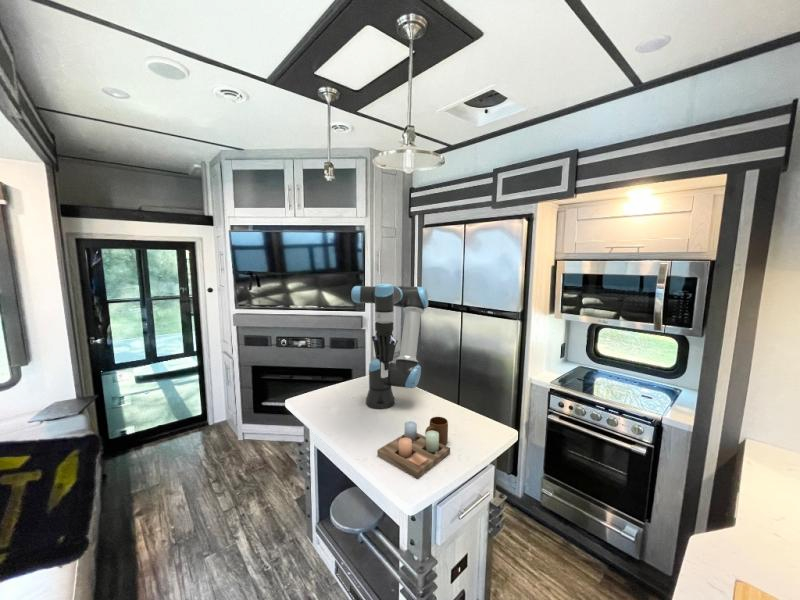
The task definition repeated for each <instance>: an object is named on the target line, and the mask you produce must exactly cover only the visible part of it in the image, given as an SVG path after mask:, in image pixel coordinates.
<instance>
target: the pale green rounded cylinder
mask: <svg viewBox="0 0 800 600" xmlns="http://www.w3.org/2000/svg"><path fill="white" fill-rule="evenodd" d="M425 437H426V450H427V452H429V453H437V451H438V450H439V433H438V432H437V431H432V430H431V431H427V432H426V435H425Z"/></svg>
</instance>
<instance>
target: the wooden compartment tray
mask: <svg viewBox="0 0 800 600" xmlns="http://www.w3.org/2000/svg"><path fill="white" fill-rule="evenodd" d="M401 438H404V433H403V434H402V435H401V436H398V437H397V438H394V440H392V441H389V442H388V443H386V444H385V445H383V446H381V447H379V448H378V449H377V452H376V453H377V457H379V458H380V459H382V460H384V461H386V462H387V463H389V464H390V465H393V466H394V467H396V468H398V469H399V470H401V471H403V472H404V473H406V474H408V475H410V476H412V477H414V478H415V479H417V480H418V479H420V478H421V477H422V476H424V475H425V474H426V473H427V472H428V471H430V470H431V469H433V468H435V466H437V465H438V464H439V463H441V461H442V462H443V460H444V459H446V458H447V457H448V456H450V455H451V448H450V447H449V446H447V445H443V444H440V443H439V450H438V451H436V452H435V453H434V454H433V453H432V452H429V451H427V450H426V435H422V434H421V433H418V432H417V439H416V440H415V441H413V442H412V455H411V456H410V457H408V458H407V459H405V458H403V457H401V456H399V439H401Z"/></svg>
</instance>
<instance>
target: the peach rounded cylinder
mask: <svg viewBox="0 0 800 600" xmlns="http://www.w3.org/2000/svg"><path fill="white" fill-rule="evenodd" d="M412 443H413V441H412V440H411V439H410V438H401V439H399V456H401V457H403V458H405V459H407V458H408V457H410V456H411V455H412Z"/></svg>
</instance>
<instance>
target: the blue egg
mask: <svg viewBox="0 0 800 600" xmlns="http://www.w3.org/2000/svg"><path fill="white" fill-rule="evenodd" d="M417 424H418V423H417V422H415V421H412V420H409V421H406V422H404V431H403V432H404V433H403V434H404V438H410V439H411V440H412V442H415V440H416V439H417V433H418V430H417V429H418V427H417V426H418V425H417Z"/></svg>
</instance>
